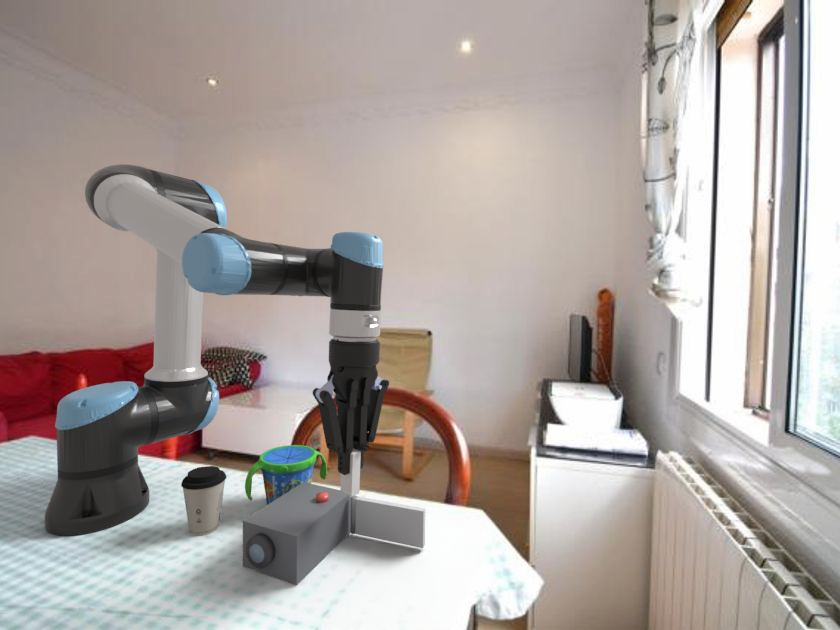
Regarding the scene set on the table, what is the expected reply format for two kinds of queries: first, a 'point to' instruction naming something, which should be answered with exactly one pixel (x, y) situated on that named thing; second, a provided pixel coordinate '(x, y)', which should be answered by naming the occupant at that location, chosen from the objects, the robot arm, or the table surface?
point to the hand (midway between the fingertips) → (349, 491)
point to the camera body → (296, 531)
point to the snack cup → (285, 469)
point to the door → (388, 521)
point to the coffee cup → (203, 499)
